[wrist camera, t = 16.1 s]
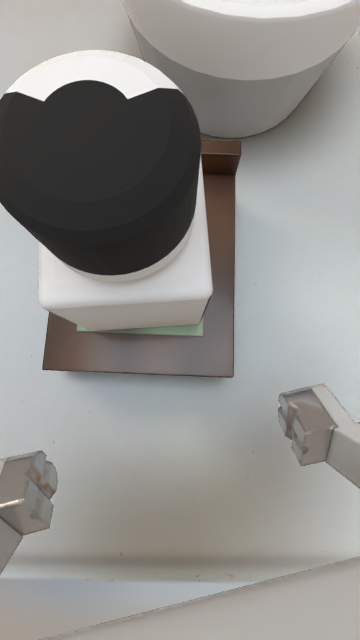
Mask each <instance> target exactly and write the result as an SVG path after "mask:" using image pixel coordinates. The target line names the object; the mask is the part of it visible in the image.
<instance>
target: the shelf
mask: <svg viewBox="0 0 360 640" xmlns="http://www.w3.org/2000/svg"><path fill="white" fill-rule="evenodd" d="M240 157H241V142H238V141H210V140H201V162H202V173H203V184H204V195H205V207H206V218H207V229H208V241H209V252H210V263H211V274H212V286H213V292H212V296H211V298H210V301H209V303H208V305H207V308H206V310H205V313H204V315H203V318H202V320H201V322H200V323H199V324H194V325H178V326H163V327H148V328H132V329H117V330H102V331H90V330H88V329H86V328H84V327H82V326H80V325H78V324H75V323H73V322H71V321H69V320H67V319H65V318H63V317H61V316H58V315H56V314H54V313H52V312H50V311H49V317H48V325H47V334H46V342H45V350H44V359H43V367H42V369H43V370H57V371H81V372H106V373H130V374H154V375H178V376H203V377H227V378H233V376H234V265H235V175H236V171H237V168H238V164H239V161H240Z"/></svg>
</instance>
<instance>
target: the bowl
mask: <svg viewBox="0 0 360 640" xmlns="http://www.w3.org/2000/svg"><path fill="white" fill-rule="evenodd" d="M122 2H123V4H124V7H125V10H126V12H127V14H128V17H129V19H130V22H131V25H132V28H133V30H134V33H135V36H136V39H137V41H138V44H139V47H140V50H141V53H142V55H143V58H144V61H145V62H147V63H149V64H151V65H152V66H154V67H155V68H157V69H158V70H160V71H161V72H162V73H163V74H164V75H165V76H167V77H168V78H169V79H170V80H171V81H172V82H173V83H174V84H175V85H177V87H178V88H179V89H180V90H181V91H182V92H183V94H184V95H185V96H186V98H187V99H188V101H189V103H190V104H191V106H192V108H193V110H194V112H195V115H196V117H197V120H198V124H199V128H200V133H203V134H206V135H210V136H214V137H222V138H240V137H247V136H252V135H256V134H260V133H262V132H264V131H266V130H269V129H271V128H273V127H275V126H276V125H277V124H279V123H280V122H282V121H283V120H285V119H286V117H287V116H288V115H289V114H290V113H291V112H292V111H293V110H294V109H295V108H296V106H297V105H298V104H299V103H300V101H301V100H302V99H303V98H304V96H305V95H306V94H307V92H308V91H309V90H310V89H311V87H312V86H313V85H314V83H315V82H316V81H317V80H318V78H319V77H320V76H321V75H322V73H323V72H324V71H325V69H326V68H327V67H328V66H329V64H330V63H331V62H332V61H333V59H334V58H335V57H336V55H337V54H338V53H339V52H340V50H341V49H342V48H343V46H344V45H345V44H346V43H347V41H348V40H349V39H350V38H351V37H352V36H353V35H354V33H355V32H356V31H357V30H358V28H359V27H360V0H122Z"/></svg>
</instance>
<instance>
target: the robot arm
mask: <svg viewBox="0 0 360 640" xmlns="http://www.w3.org/2000/svg"><path fill="white" fill-rule="evenodd" d="M278 401H279V403H280V405H281V406H280V407H279V408H278V418H279V423H280V425H281V428H282V430H283V432H284V434H285V436H286V437H288V438H289V439H291V440H292V446H291V448H292V450H293V452H294V454H295V456H296V458H297V460H298V462H299V463H300V465H301V466H305V465H310V464H314V463H319V462H324V461H326V463H328V464H329V465H330V466H331V467H333V468H334V469H335V470H337V471H338V472H339V473H340V474H342V475H343V476H344V477H345V478H347V479H348V480H349V481H351V482H352V483H353V484H354V485H356V486H357V487H358V488H360V422H359V423H355V422H354V421H353V420H352V418H351V417H350V416H349V414H348V413H347V412H346V411H345V409H344V408H343V407H342V405H341V404H340V403H339V402H338V400H337V399H336V398H335V396H334V395H333V394H332V392H331V391H330V390H329V389H328V387H327V386H326V385H324V384H318V385H315V386H311V387H305V388H301V389H297V390H293V391H289V392H285V393H281V394H280V395H279V399H278ZM46 456H47V455H46V454H45V453H44V452H43V451H42V450H41V451H37V452H32V453H27V454H23V455H18V456H14V457H9V458H4V459H0V574H1V572H2V571H3V569H4V568H5V566H6V564H7V563H8V561H9V559H10V558H11V556H12V555H13V553H14V551H15V550H16V548H17V546H18V545H19V543H20V542H21V540H22V538H23V535H27V534H31V533H34V532H38V531H41V530H45V529H49V528H50V522H51V517H52V511H53V504H52V502H51V500H50V499H51V498H52V496H53V495H54V494H55V492H56V489H57V483H58V479H57V471H56V468H55V466H54V465H53V463H51V462H49V461H46ZM40 640H360V556H359V557H355V558H351V559H347V560H343V561H339V562H336V563H332V564H328V565H324V566H320V567H316V568H313V569H309V570H305V571H301V572H297V573H293V574H290V575H286V576H282V577H278V578H274V579H270V580H267V581H263V582H259V583H255V584H251V585H247V586H244V587H240V588H236V589H232V590H229V591H225V592H221V593H217V594H213V595H209V596H205V597H201V598H197V599H194V600H190V601H186V602H182V603H178V604H175V605H171V606H167V607H163V608H159V609H156V610H151V611H148V612H144V613H140V614H136V615H133V616H128V617H125V618H121V619H117V620H113V621H109V622H106V623H102V624H98V625H94V626H90V627H87V628H83V629H79V630H75V631H71V632H67V633H63V634H59V635H56V636H52V637H48V638H44V639H40Z"/></svg>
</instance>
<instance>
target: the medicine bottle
mask: <svg viewBox="0 0 360 640" xmlns="http://www.w3.org/2000/svg"><path fill="white" fill-rule="evenodd" d="M0 202H1V204H2V205H3V206H4V207H5V209H6V210H7V211H8V212H9V213H10V214H11V215H12V216H13V217H14V218H15V219H16V220H17V221H18V222H19V223H20V224H21V225H22V226H23V227H25V228H26V229H27V230H28V231H29V232H30V233H31V234H32V235H33V236H34V237H35V238H36V239H37V240H38V241H39V267H38V302H39V305H40V306H41V307H42V308H43V309H46V310H48V311H50V312H52V313H54V314H56V315H58V316H61V317H63V318H65V319H67V320H69V321H71V322H73V323H75V324H78V325H80V326H82V327H84V328H86V329H88V330H90V331H102V330H117V329H132V328H148V327H163V326H178V325H194V324H199V323H200V322H201V320H202V318H203V315H204V313H205V310H206V308H207V305H208V303H209V301H210V298H211V296H212V292H213V286H212V274H211V263H210V252H209V241H208V229H207V218H206V207H205V195H204V184H203V173H202V162H201V134H200V128H199V124H198V120H197V117H196V115H195V112H194V110H193V108H192V106H191V104H190V103H189V101H188V99H187V98H186V96H185V95H184V94H183V92H182V91H181V90H180V89H179V88H178V87H177V85H175V84H174V83H173V82H172V81H171V80H170V79H169V78H168V77H167V76H165V75H164V74H163V73H162V72H161V71H160V70H158V69H157V68H155V67H154V66H152V65H151V64H149V63H147V62H145V61H143V60H141V59H139V58H136V57H133V56H130V55H127V54H123V53H118V52H114V51H104V50H85V51H78V52H71V53H68V54H64V55H60V56H57V57H54V58H52V59H49V60H47V61H45V62H43V63H41V64H39V65H37V66H35V67H34V68H32V69H31V70H29V71H28V72H26V73H25V74H23V75H22V76H21V77H20V78H19V79H18V80H17V81H16V82H14V83H13V84H12V86H11V87H10V88H9V89H8V90H7V91H6V93H5V94H4V95H3V97H2V98H1V100H0Z"/></svg>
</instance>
